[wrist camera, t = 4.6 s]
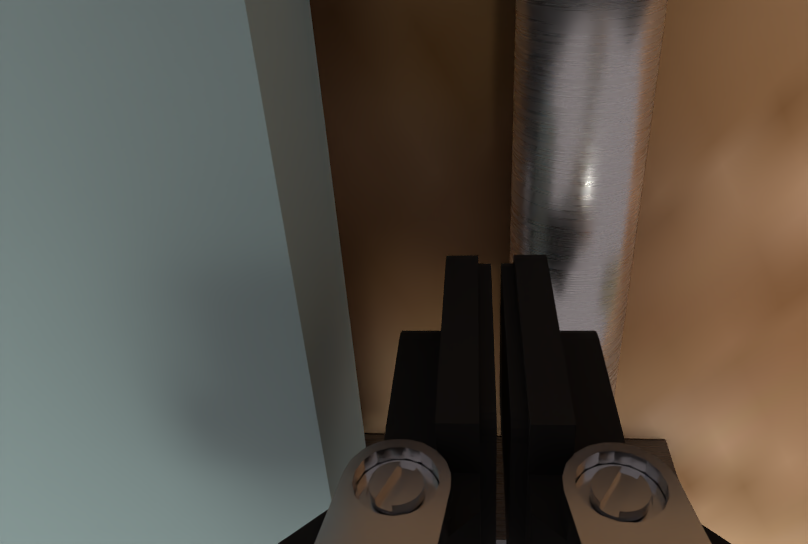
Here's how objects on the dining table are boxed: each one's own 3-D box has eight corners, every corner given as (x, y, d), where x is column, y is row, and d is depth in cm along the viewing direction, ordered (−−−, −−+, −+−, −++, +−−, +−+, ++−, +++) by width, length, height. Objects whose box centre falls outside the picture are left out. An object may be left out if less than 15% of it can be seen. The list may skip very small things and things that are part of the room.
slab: (-429, -12, 11) (-700, 33, 8) (302, -54, 10) (241, -16, 7) (-96, 494, 17) (-194, 606, 15) (374, 509, 16) (354, 634, 13)
